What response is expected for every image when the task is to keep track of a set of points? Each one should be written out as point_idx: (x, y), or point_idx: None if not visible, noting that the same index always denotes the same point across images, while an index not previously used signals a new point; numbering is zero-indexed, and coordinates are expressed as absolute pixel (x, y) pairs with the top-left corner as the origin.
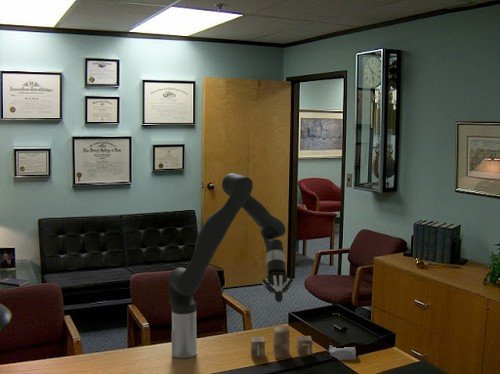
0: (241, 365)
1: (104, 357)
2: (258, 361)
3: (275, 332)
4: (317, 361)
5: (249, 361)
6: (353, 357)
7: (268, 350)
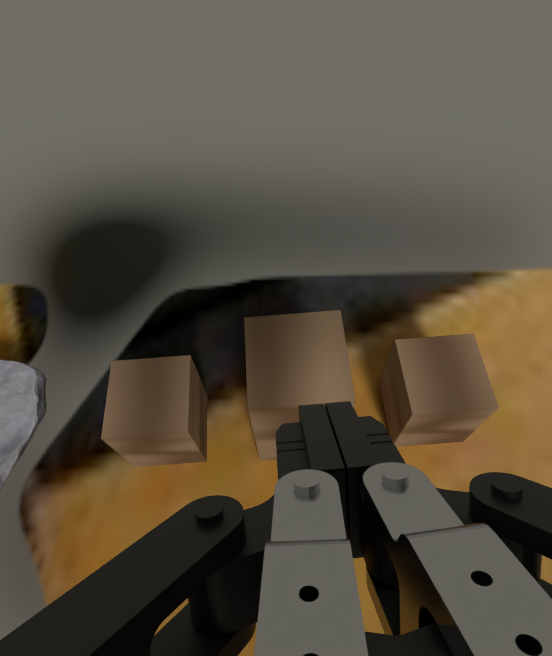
0: (474, 304)
1: None
2: None
3: (337, 310)
4: (129, 351)
5: None
6: None
7: None
